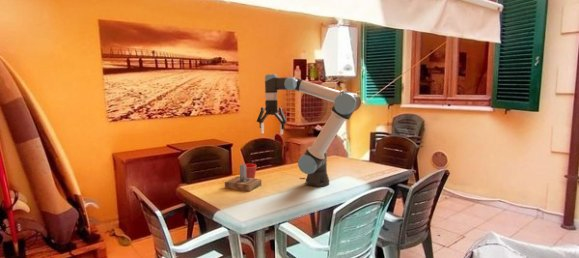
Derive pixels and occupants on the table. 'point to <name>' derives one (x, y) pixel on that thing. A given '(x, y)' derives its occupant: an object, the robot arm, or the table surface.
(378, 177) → the table surface
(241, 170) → the grey stepped bar
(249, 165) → the flower pot
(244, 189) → the well block
